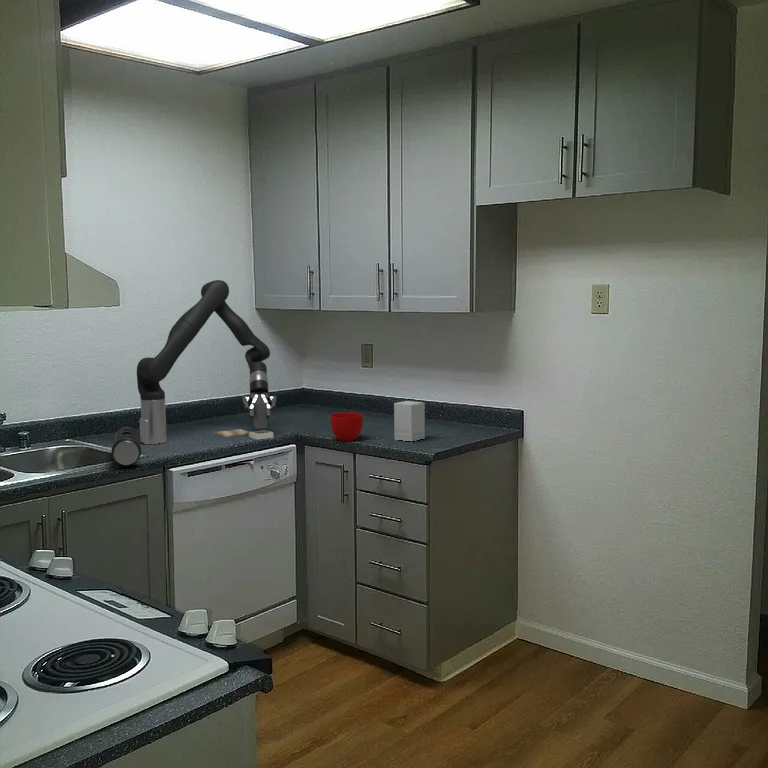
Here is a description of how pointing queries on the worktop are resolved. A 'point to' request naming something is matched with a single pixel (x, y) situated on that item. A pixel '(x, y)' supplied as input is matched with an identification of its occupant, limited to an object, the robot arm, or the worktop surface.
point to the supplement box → (409, 421)
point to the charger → (260, 415)
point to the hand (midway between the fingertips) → (260, 417)
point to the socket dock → (261, 434)
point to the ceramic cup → (346, 425)
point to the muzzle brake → (126, 446)
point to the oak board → (232, 433)
